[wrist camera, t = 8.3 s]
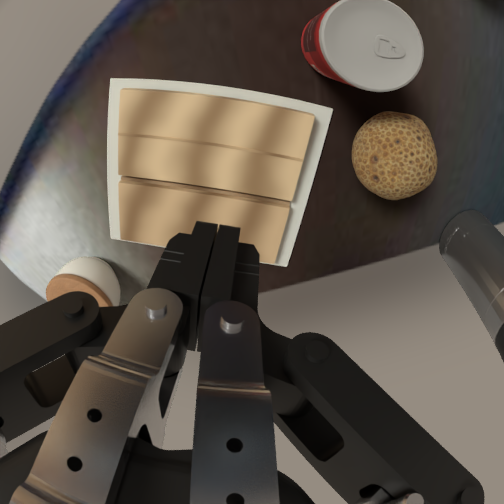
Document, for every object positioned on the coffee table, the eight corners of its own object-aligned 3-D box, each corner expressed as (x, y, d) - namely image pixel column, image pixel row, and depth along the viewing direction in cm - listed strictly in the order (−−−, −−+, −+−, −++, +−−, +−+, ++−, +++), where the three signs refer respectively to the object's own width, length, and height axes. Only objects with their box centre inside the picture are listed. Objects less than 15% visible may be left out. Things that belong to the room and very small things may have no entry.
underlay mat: (332, 108, 30) (333, 109, 29) (286, 265, 42) (287, 266, 41) (111, 78, 27) (110, 78, 27) (111, 237, 39) (110, 238, 39)
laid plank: (289, 200, 36) (290, 205, 35) (273, 258, 41) (274, 264, 40) (122, 175, 34) (118, 179, 33) (123, 234, 39) (120, 239, 38)
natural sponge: (386, 86, 28) (431, 101, 20) (424, 148, 31) (469, 182, 23) (323, 133, 31) (347, 164, 23) (367, 190, 35) (397, 236, 27)
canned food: (379, 78, 27) (428, 92, 18) (306, 83, 28) (329, 96, 19) (369, 11, 23) (416, -2, 14) (293, 15, 24) (310, -5, 15)
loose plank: (313, 113, 30) (315, 116, 29) (291, 196, 36) (291, 201, 35) (124, 87, 28) (120, 89, 27) (122, 170, 34) (118, 175, 33)
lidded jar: (106, 307, 48) (87, 351, 40) (58, 266, 43) (31, 307, 35) (143, 279, 44) (124, 327, 36) (89, 230, 39) (58, 273, 31)
